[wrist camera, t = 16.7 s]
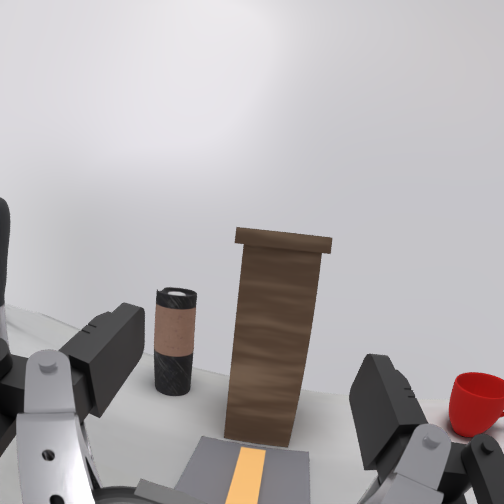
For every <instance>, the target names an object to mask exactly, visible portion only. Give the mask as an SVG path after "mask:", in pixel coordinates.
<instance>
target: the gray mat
mask: <svg viewBox="0 0 504 504" xmlns="http://www.w3.org/2000/svg"><path fill="white" fill-rule="evenodd" d="M241 447H246V448H253V449H260V450H266V452H265V458H264V465H263V471H262V478H261V484H260V490H259V496H258V502H257V504H310V472H309V452H304V451H292V450H282V449H273V448H266V447H258V446H252V445H245V444H239V443H234V442H228V441H223V440H218V439H213V438H209V437H204V436H202V437H201V439H200V441H199V443H198V445H197V447H196V449H195V451H194V453H193V455H192V456H191V458H190V460H189V462H188V464H187V466H186V468H185V470H184V472H183V473H182V475H181V477H180V479H179V481H178V483H177V485H176V486H175V488H174V489H175V490H178V491H182V492H184V493H186V494H188V495H190V496H192V497H194V498H197V499H199V500H201V501H203V502H205V503H208V504H225V502H226V499H227V496H228V492H229V489H230V485H231V482H232V479H233V475H234V471H235V468H236V464H237V461H238V457H239V454H240V450H241Z"/></svg>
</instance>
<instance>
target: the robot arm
mask: <svg viewBox="0 0 504 504" xmlns="http://www.w3.org/2000/svg"><path fill="white" fill-rule="evenodd" d="M9 235H10V212H9V208H8V205H7V203H6V201H5V200H4V199H2V198H0V457H1V455H2V454H3V452H4V451H5V450H6V448H7V447H8V445H9V444H10V443H11V441H12V440H13V438H14V437H15V436H16V435H17V457H18V470H19V479H20V487H21V494H22V501H23V504H208V503H205V502H203V501H201V500H199V499H197V498H194V497H192V496H190V495H188V494H186V493H184V492H182V491H178V490H175V489H171V488H168V487H165V486H161V485H158V484H155V483H152V482H149V481H146V480H143V479H140V481H139V484H138V486H137V487H127V486H111V487H104V488H103V486H102V483H101V480H100V478H99V475H98V472H97V469H96V466H95V462H94V459H93V455H92V451H91V447H90V443H89V438H88V434H87V429H86V425H85V421H84V419H85V418H86V416H87V415H88V413H90V414H92V415H94V416H96V417H99V418H100V417H101V416H102V414H103V413H104V411H105V410H106V409H107V407H108V406H109V404H110V403H111V401H112V400H113V398H114V397H115V395H116V394H117V392H118V391H119V389H120V388H121V386H122V385H123V383H124V382H125V381H126V379H127V378H128V376H129V375H130V373H131V372H132V370H133V369H134V367H135V366H136V365H137V363H138V362H139V360H140V359H141V357H142V354H143V350H144V342H145V340H144V338H145V333H144V332H145V311H144V309H143V308H142V307H138V306H135V305H131V304H128V303H122V304H121V305H120V306H119V307H118V308H117V309H115V310H114V311H113V312H112V313H111V312H106V313H103V314H101V315H98V316H96V317H95V318H94V319H93V320H91V321H90V322H89V323H88V325H86V326H85V327H84V328H83V329H82V330H81V331H79V332H78V333H77V334H76V335H75V336H74V337H73V338H71V339H70V340H69V341H68V342H67V343H66V344H65V345H64V346H63V347H62V348H61V349H60V350H58V351H56V350H41V351H38V352H36V353H34V354H33V355H31V356H30V357H29V358H25V357H20V356H16V355H12V354H11V353H10V350H9V344H8V336H7V326H6V316H5V301H4V293H5V286H6V275H7V256H8V245H9ZM349 401H350V406H351V410H352V415H353V419H354V423H355V428H356V432H357V437H358V442H359V446H360V451H361V456H362V461H363V466H364V470H377V472H378V475H377V476H376V477H375V479H374V480H373V481H372V483H371V484H370V486H369V487H368V489H367V490H366V492H365V493H364V495H363V496H362V497H361V499H360V500H359V502H358V503H357V504H467V503H466V499H465V496H464V493H465V492H467V491H468V490H469V489H470V488H471V487H472V488H473V491H474V494H475V497H476V500H477V503H478V504H504V454H503V452H502V450H501V448H500V446H499V444H498V442H497V441H496V440H495V439H494V438H492V437H491V436H489V435H486V434H477V435H475V436H474V437H473V438H472V439H471V441H470V442H469V443H468V444H460V443H454V442H451V440H450V437H449V435H448V434H447V433H446V432H445V431H444V430H443V429H442V428H440V427H438V426H436V425H433V424H428V422H427V420H426V418H425V415H424V413H423V411H422V409H421V407H420V405H419V403H418V401H417V399H416V398H415V394H414V392H413V390H411V386H410V384H409V382H408V380H407V379H406V378H405V377H404V376H403V375H402V374H401V373H400V372H399V371H398V370H395V368H394V366H393V364H392V362H391V360H390V358H389V357H388V356H386V355H377V354H367V355H366V357H365V358H364V360H363V363H362V365H361V367H360V369H359V371H358V374H357V376H356V378H355V380H354V382H353V384H352V386H351V390H350V395H349Z"/></svg>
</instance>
